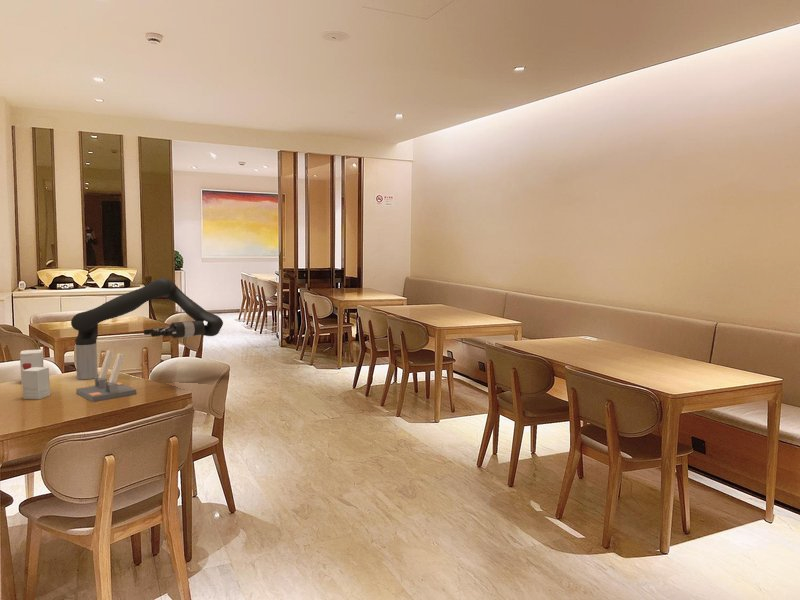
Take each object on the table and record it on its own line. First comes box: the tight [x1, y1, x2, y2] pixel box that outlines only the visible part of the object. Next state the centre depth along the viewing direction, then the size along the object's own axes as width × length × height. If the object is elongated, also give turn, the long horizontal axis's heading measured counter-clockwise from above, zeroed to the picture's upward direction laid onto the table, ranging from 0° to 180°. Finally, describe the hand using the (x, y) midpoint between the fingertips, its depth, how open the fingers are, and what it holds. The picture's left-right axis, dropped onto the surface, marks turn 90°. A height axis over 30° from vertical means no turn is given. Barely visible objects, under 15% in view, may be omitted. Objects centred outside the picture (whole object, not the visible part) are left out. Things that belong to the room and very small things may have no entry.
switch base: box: [75, 377, 137, 403], centre depth 246 cm, size 20×18×6 cm
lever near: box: [107, 352, 126, 387], centre depth 243 cm, size 3×2×15 cm
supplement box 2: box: [21, 366, 51, 400], centre depth 238 cm, size 7×7×13 cm
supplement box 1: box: [19, 349, 44, 385], centre depth 266 cm, size 9×9×15 cm
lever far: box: [97, 349, 115, 382], centre depth 251 cm, size 3×2×15 cm
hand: (147, 333), depth 252 cm, fingers open, 7 cm apart
